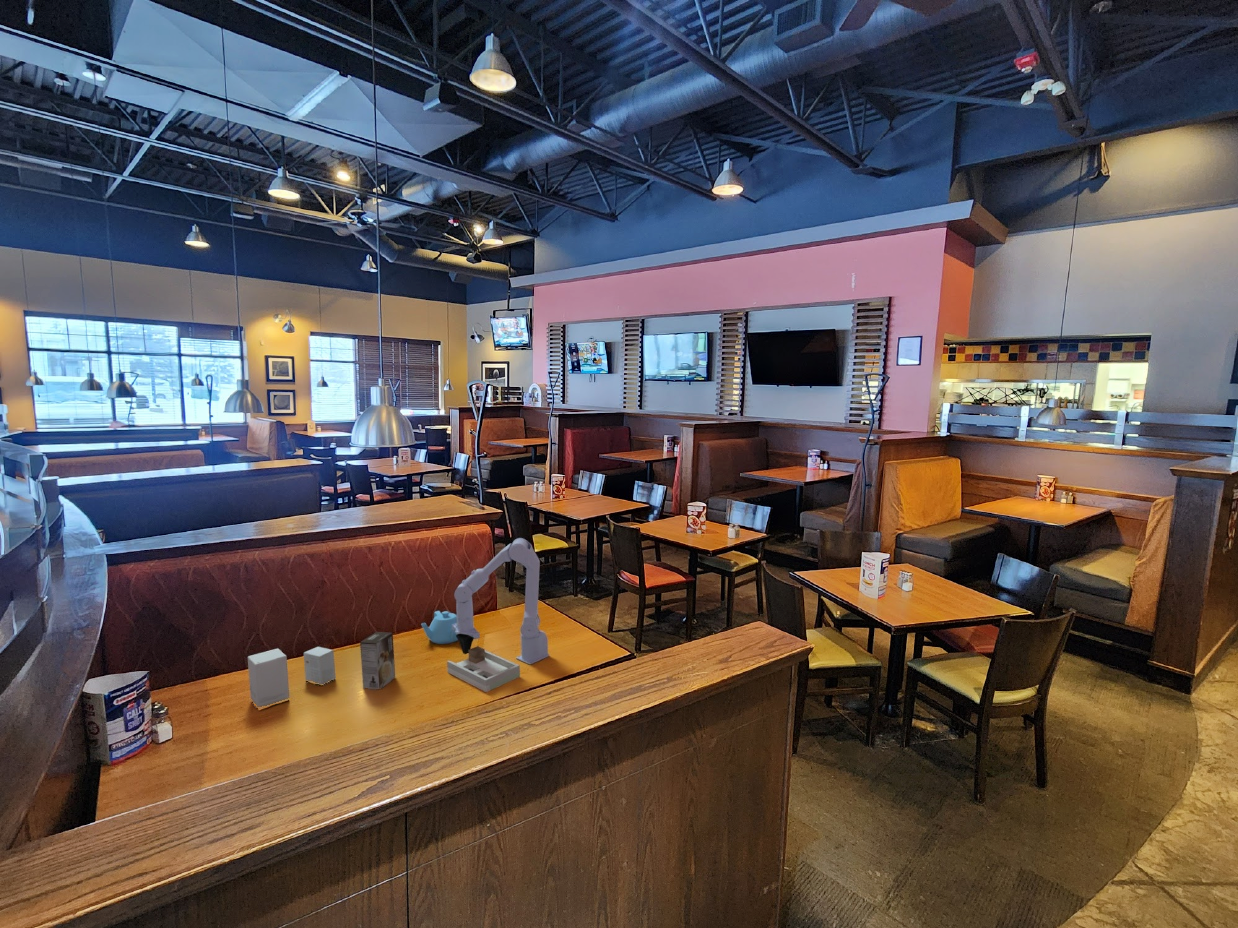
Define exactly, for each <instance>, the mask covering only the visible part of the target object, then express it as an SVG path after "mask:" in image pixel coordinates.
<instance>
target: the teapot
mask: <svg viewBox="0 0 1238 928" xmlns="http://www.w3.org/2000/svg"><path fill="white" fill-rule="evenodd" d="M455 623H457V613H456V614H455V613H452V612H450V611H449V610H448V611H447V610H446V611H442V612H441V611H440V610H436V611H434V613H433V620H432V621H431V623H430V625H429V626H428V625H427V623H426V622H422V623H421V624H420V625H421V627H422V629H423V631H424V633H425V635H426V637H427V638H428V639H429V640H430V641H431V642H432V643H434V644H438V645H445V644H447V645H448V644H452V643H455V642H457V641H458V639H457V638H456V635H457V634H456V633H455V631H456V630H452V624H455Z"/></svg>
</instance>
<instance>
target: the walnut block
mask: <svg viewBox="0 0 1238 928" xmlns="http://www.w3.org/2000/svg"><path fill="white" fill-rule="evenodd" d="M468 652H469V653H468V659H469V661H471V662H473V663H475V664H476V663H478V662H481V661H483V660H485V648H483V647H481V646H479V645H478V646H474V647H471V649H469V650H468Z"/></svg>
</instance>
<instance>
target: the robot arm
mask: <svg viewBox="0 0 1238 928" xmlns="http://www.w3.org/2000/svg"><path fill="white" fill-rule="evenodd" d="M511 561H515V562H517V563H518V564H521V565H522V566H523V567H524V568H526V571H525V573H526V575H525V591H524V592H525V593H524V595H525V596H524V599H525V600H524V613H523V619H522V624H521V626H520V629H519V630H520V649H521V650H520V651H521V653H520V655H519V656H516V660H519V661H521V662H523V663H525V664H528V665H532V664H535V663H537V662H539V661H541V660H544V659H546V658H548V657H550V654H549V649H548V648H549V647H548V645H549V643H548V641H549V640H548V635H547V634H546V632H545V631H543V630H540V629H539V626H540V624H541V617H540V616H539V608H538V607H539V589H540V588H539V583H540V564H541V561H540V558H539V557H538V555H537V553H536V551H535V550H534V548H533V545H532V543H530V542H529V540H526V539H525V538H522V537H518V538H516V539H514V540H513V542H512V543H509V544H507V546H505V547H504V548H502V549H501V550H500V551H499V552H498V553H497V554H496V555H495V556H494V557H493V558H492V559H491V560H490V561H489V562H488V563H487V564H486V565H485V566H484V567H483V568H477V569H476V570H475V569H473V570H472V571H471V573H470V575H469V576H468V577H467V578H466V579H463V580H462V581H461V583H460V584H459V585H458V586H457V588H456V589H455V591H454V594H453V595H454V596H453V597H454V600H456V601H455V602H456V604H455V605H456V606H455V607H456V615H457V623H455V624H452V630H456V631H455V633H456V634H457V635H456V638H457V639H458V640H457V641H458V643H459V645H460V648H461V652H462V654H464V655H467V654H469V652H468V650H469V649H472V644H473V641H474V640H478V639H480V638H481V636H480V635H481V632H480V631H478V630H477V629H476V627H475V626H474V608H473V607H474V606H473V605H474V603H473V595H474V593H477V592H478V591H479V589H481V588H482V587H483V586H484V585H485V584H486V583H487V582H488V581H489V576H490V575H491V574H493V572H494V571H496V569H497V568H499V567H500V566H502V564H503V563H505V562H507V563H508V562H511Z"/></svg>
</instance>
